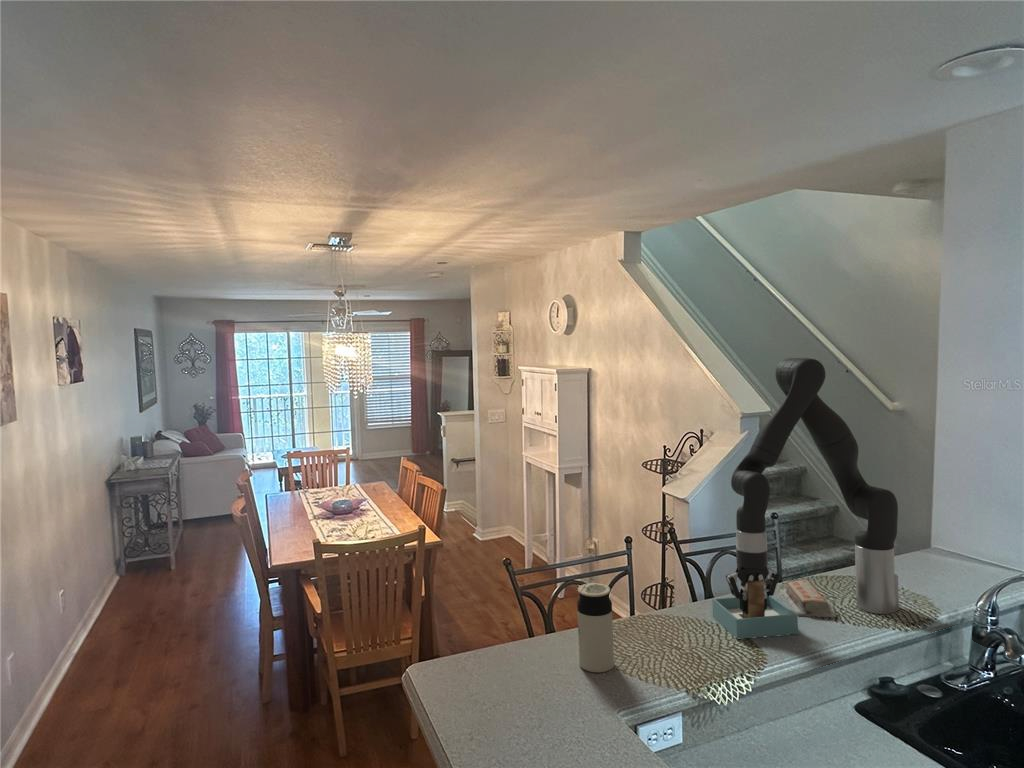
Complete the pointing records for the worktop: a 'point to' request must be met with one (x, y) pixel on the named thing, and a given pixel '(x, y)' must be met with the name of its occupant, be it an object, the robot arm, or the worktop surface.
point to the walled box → (755, 619)
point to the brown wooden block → (755, 599)
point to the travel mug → (595, 628)
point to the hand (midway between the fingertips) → (753, 611)
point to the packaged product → (806, 599)
